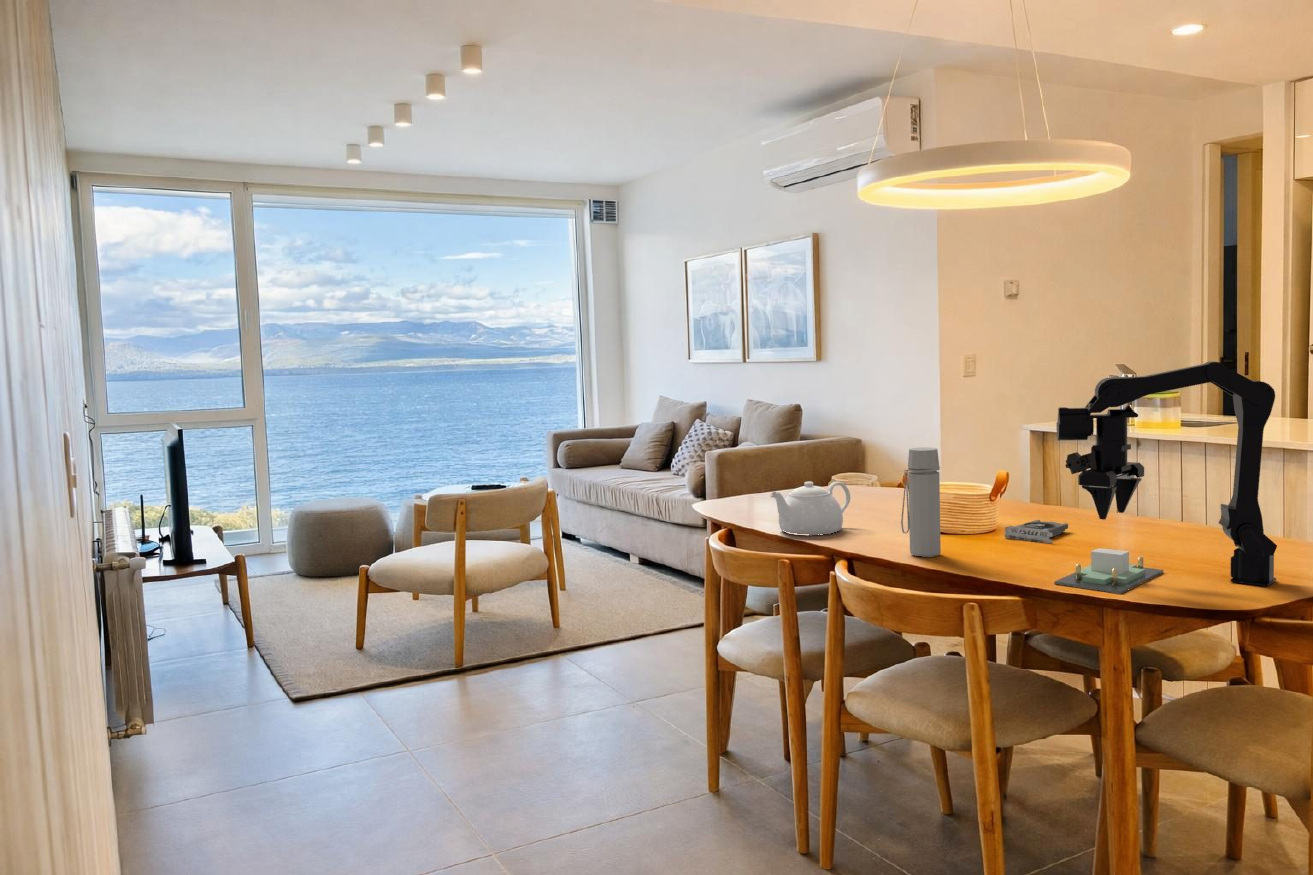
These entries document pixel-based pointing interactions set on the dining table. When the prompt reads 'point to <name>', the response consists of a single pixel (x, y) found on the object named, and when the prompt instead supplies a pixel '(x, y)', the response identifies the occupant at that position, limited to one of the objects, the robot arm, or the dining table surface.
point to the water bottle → (923, 502)
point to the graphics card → (1035, 531)
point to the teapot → (811, 509)
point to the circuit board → (1109, 575)
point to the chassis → (1111, 586)
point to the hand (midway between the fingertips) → (1112, 515)
